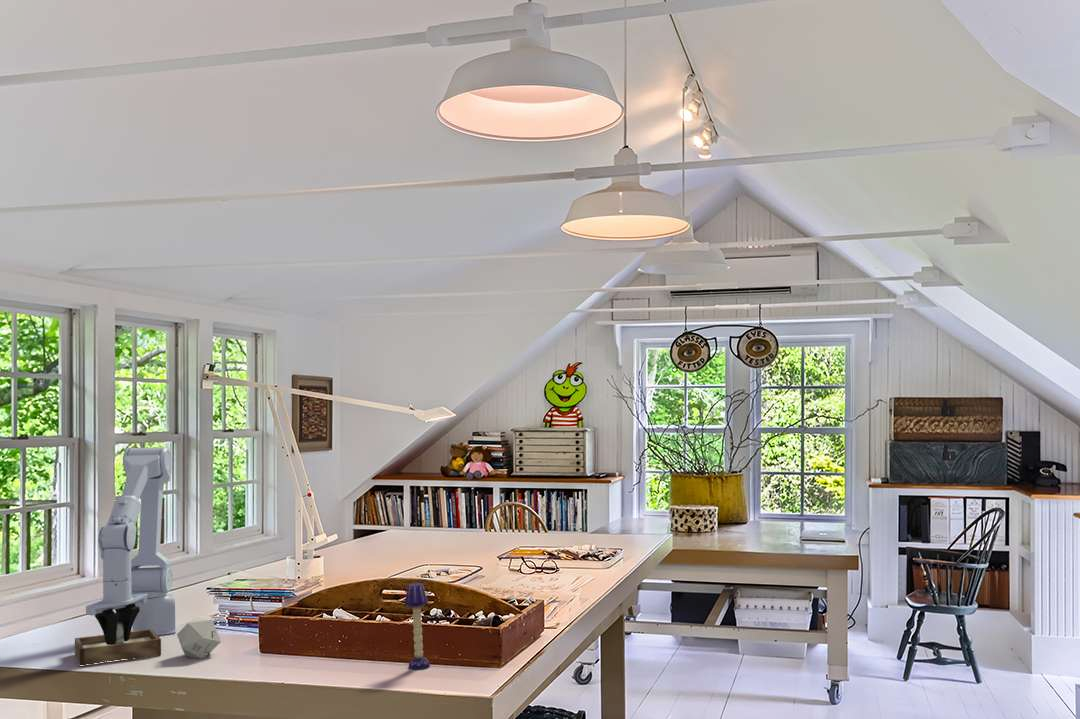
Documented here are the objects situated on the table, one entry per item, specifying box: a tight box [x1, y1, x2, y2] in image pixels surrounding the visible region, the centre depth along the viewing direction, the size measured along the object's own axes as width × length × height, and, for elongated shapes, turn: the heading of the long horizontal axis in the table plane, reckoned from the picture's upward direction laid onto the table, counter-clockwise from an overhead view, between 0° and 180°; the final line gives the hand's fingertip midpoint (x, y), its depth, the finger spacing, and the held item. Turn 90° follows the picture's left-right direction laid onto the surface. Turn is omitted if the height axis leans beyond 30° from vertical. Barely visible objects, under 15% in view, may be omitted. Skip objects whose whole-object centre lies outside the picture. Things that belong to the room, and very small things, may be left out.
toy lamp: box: [404, 582, 431, 670], centre depth 206 cm, size 5×5×17 cm
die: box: [176, 617, 222, 659], centre depth 218 cm, size 8×9×10 cm
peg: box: [115, 621, 124, 644], centre depth 221 cm, size 3×3×6 cm
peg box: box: [74, 629, 162, 666], centre depth 220 cm, size 16×12×4 cm
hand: (117, 642), depth 220 cm, fingers closed on peg, 3 cm apart
